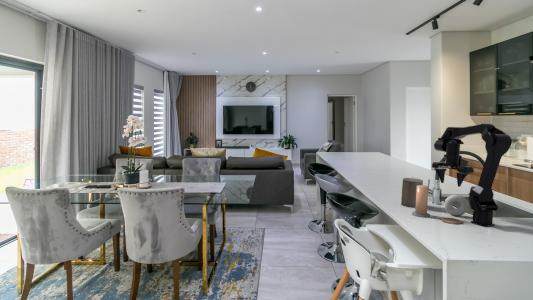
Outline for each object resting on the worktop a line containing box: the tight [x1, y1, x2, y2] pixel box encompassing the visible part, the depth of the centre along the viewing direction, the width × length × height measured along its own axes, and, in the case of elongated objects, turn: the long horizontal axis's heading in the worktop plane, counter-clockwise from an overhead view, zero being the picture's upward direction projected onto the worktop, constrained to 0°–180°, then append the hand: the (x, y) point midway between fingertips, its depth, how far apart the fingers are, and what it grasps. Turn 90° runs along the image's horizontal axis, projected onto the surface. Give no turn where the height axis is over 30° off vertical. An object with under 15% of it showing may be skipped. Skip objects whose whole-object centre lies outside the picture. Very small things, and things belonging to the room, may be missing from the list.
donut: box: [443, 194, 470, 217], centre depth 152 cm, size 10×4×10 cm, turn 68°
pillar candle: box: [400, 176, 424, 209], centre depth 169 cm, size 10×10×15 cm
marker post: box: [414, 185, 430, 215], centre depth 152 cm, size 5×5×13 cm
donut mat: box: [440, 217, 462, 225], centre depth 143 cm, size 8×8×1 cm
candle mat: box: [411, 210, 431, 218], centre depth 153 cm, size 8×8×1 cm
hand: (450, 184), depth 159 cm, fingers open, 9 cm apart
